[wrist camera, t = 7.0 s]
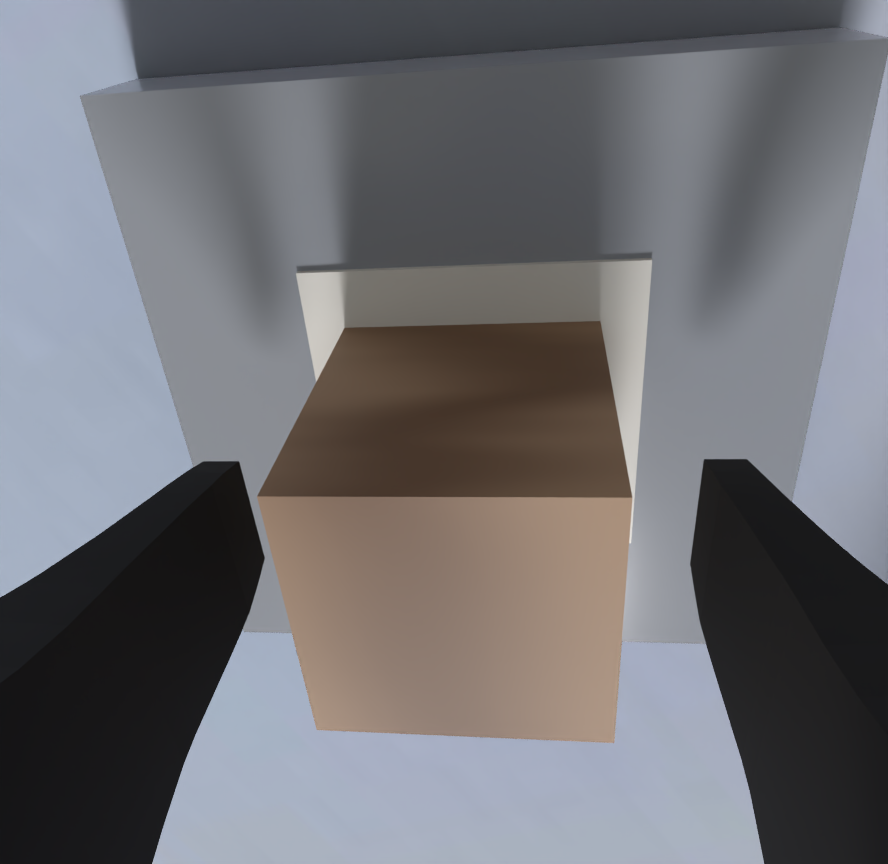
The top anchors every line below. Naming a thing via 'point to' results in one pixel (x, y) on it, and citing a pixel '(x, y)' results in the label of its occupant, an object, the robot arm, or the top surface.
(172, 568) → the robot arm
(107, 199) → the top surface
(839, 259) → the slate base
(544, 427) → the walnut block
